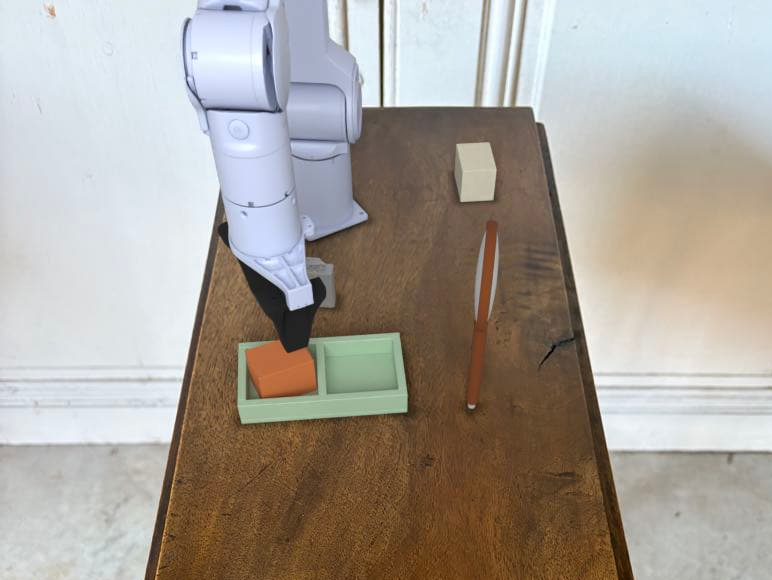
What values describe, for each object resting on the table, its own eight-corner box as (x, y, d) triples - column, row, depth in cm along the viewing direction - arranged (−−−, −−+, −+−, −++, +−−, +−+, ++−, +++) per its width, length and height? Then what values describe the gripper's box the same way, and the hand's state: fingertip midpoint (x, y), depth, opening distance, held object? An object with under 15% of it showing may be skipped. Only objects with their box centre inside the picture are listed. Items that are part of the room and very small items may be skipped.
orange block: (302, 363, 80) (298, 333, 77) (317, 390, 78) (313, 360, 75) (250, 380, 79) (244, 350, 75) (264, 407, 77) (258, 378, 73)
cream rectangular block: (454, 174, 98) (456, 143, 94) (486, 172, 98) (489, 141, 95) (460, 202, 95) (462, 171, 91) (493, 200, 95) (496, 169, 92)
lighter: (336, 296, 86) (330, 233, 79) (334, 307, 85) (328, 244, 78) (271, 293, 86) (260, 230, 79) (268, 304, 85) (257, 241, 78)
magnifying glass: (476, 442, 75) (499, 270, 58) (458, 441, 75) (476, 267, 58) (483, 376, 80) (506, 197, 63) (466, 374, 80) (484, 196, 63)
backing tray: (242, 360, 81) (238, 342, 79) (399, 350, 82) (399, 332, 80) (241, 424, 76) (237, 406, 74) (407, 412, 77) (407, 394, 75)
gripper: (344, 224, 58) (353, 358, 70) (272, 123, 65) (291, 260, 77) (253, 251, 57) (278, 384, 68) (189, 144, 64) (222, 281, 75)
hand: (280, 320), depth 72 cm, fingers open, 7 cm apart
